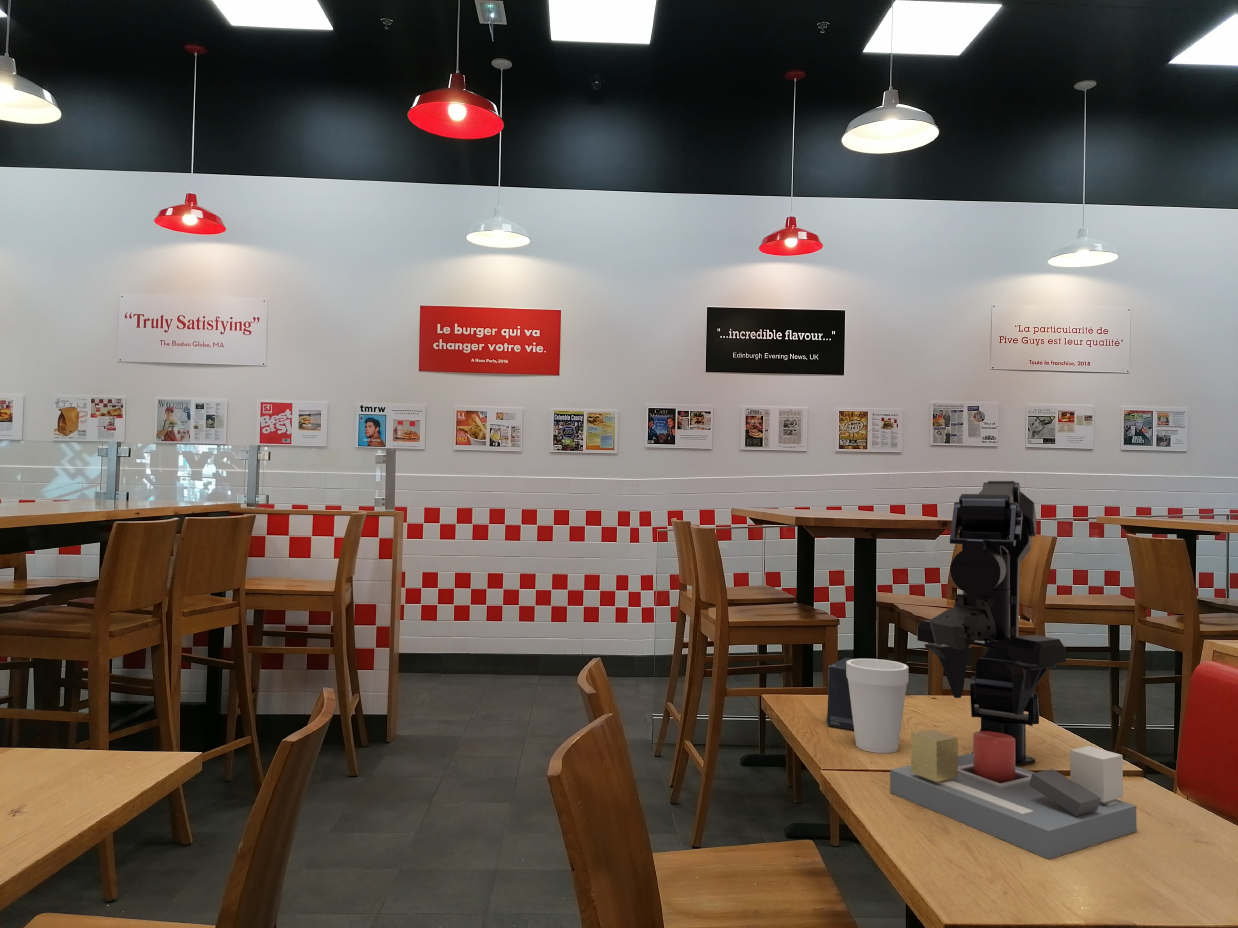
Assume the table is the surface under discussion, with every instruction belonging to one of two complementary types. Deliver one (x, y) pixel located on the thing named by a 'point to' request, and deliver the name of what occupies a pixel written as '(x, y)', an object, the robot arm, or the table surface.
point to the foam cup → (877, 702)
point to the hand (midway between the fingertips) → (986, 705)
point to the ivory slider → (1098, 772)
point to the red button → (994, 756)
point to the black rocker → (1064, 792)
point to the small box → (839, 696)
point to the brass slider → (934, 755)
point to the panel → (1014, 810)
